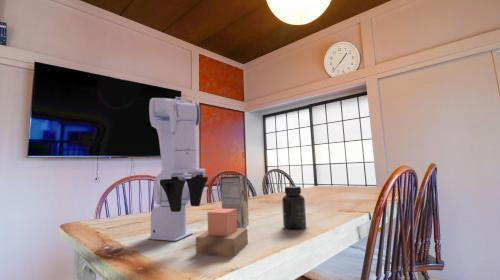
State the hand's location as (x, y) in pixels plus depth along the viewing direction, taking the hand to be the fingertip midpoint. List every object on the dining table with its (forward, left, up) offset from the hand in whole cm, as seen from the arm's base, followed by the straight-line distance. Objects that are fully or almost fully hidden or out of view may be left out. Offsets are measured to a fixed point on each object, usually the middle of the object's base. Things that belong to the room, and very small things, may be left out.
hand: (186, 208), depth 59 cm
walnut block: (+8, +3, -10) cm, 13 cm away
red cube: (+8, +3, -6) cm, 10 cm away
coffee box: (+2, +23, -10) cm, 25 cm away
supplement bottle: (+20, +26, -10) cm, 34 cm away
